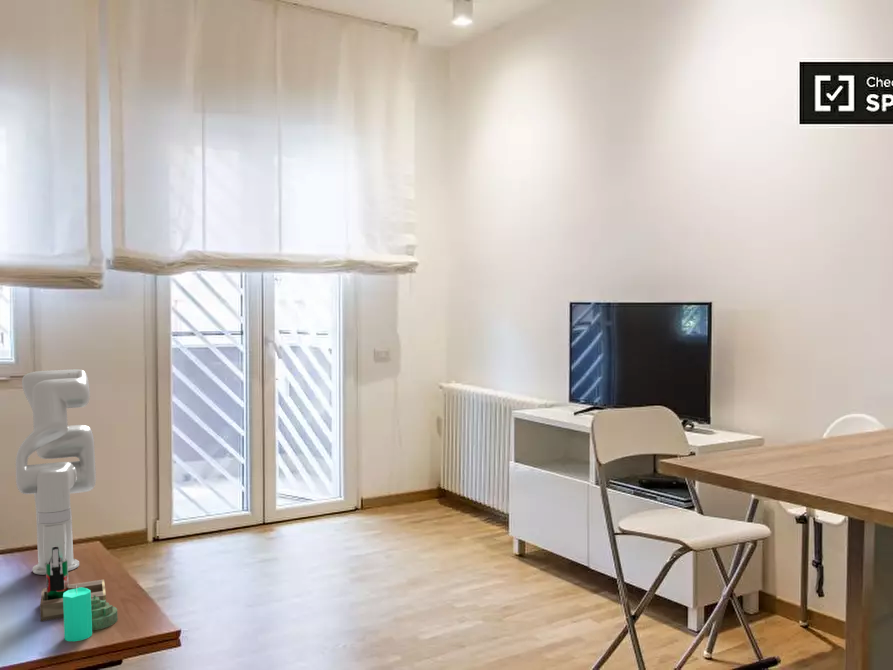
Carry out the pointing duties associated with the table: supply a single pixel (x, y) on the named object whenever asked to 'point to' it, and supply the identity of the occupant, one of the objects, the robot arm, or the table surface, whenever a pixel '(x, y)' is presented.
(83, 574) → the table surface
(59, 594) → the soda can
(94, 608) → the decorative artifact
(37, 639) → the table surface
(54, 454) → the robot arm
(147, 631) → the table surface
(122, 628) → the table surface
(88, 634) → the candle
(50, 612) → the open cardboard box
